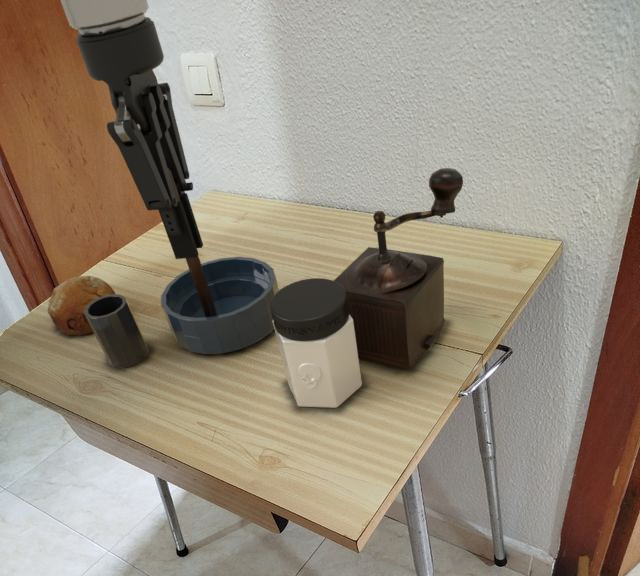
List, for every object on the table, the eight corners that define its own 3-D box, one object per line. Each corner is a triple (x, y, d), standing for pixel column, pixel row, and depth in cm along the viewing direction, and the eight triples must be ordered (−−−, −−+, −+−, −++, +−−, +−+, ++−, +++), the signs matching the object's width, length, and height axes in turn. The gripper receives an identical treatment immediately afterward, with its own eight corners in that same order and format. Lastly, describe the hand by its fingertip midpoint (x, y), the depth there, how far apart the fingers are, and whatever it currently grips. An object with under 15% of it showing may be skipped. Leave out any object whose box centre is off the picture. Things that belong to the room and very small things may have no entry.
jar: (279, 408, 68) (256, 321, 59) (296, 363, 73) (276, 278, 65) (356, 410, 65) (342, 321, 57) (367, 364, 71) (356, 276, 63)
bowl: (161, 361, 78) (145, 324, 74) (192, 297, 89) (179, 261, 85) (273, 355, 75) (263, 316, 71) (291, 290, 86) (283, 252, 82)
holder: (103, 369, 79) (77, 319, 73) (117, 344, 83) (94, 295, 77) (140, 367, 78) (117, 317, 72) (153, 342, 82) (132, 292, 76)
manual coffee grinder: (414, 374, 68) (406, 228, 56) (334, 353, 74) (310, 215, 61) (467, 303, 77) (471, 163, 64) (392, 288, 82) (382, 156, 70)
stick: (205, 322, 78) (153, 170, 64) (208, 315, 79) (157, 165, 65) (216, 322, 78) (166, 169, 64) (219, 315, 79) (170, 163, 65)
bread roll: (122, 315, 95) (97, 268, 92) (132, 315, 86) (104, 262, 83) (64, 342, 92) (36, 294, 89) (67, 344, 83) (36, 291, 80)
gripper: (122, 36, 50) (204, 281, 66) (171, 1, 60) (231, 221, 76) (43, 49, 51) (142, 286, 67) (104, 13, 61) (177, 226, 77)
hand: (189, 251), depth 72 cm, fingers closed on stick, 1 cm apart
